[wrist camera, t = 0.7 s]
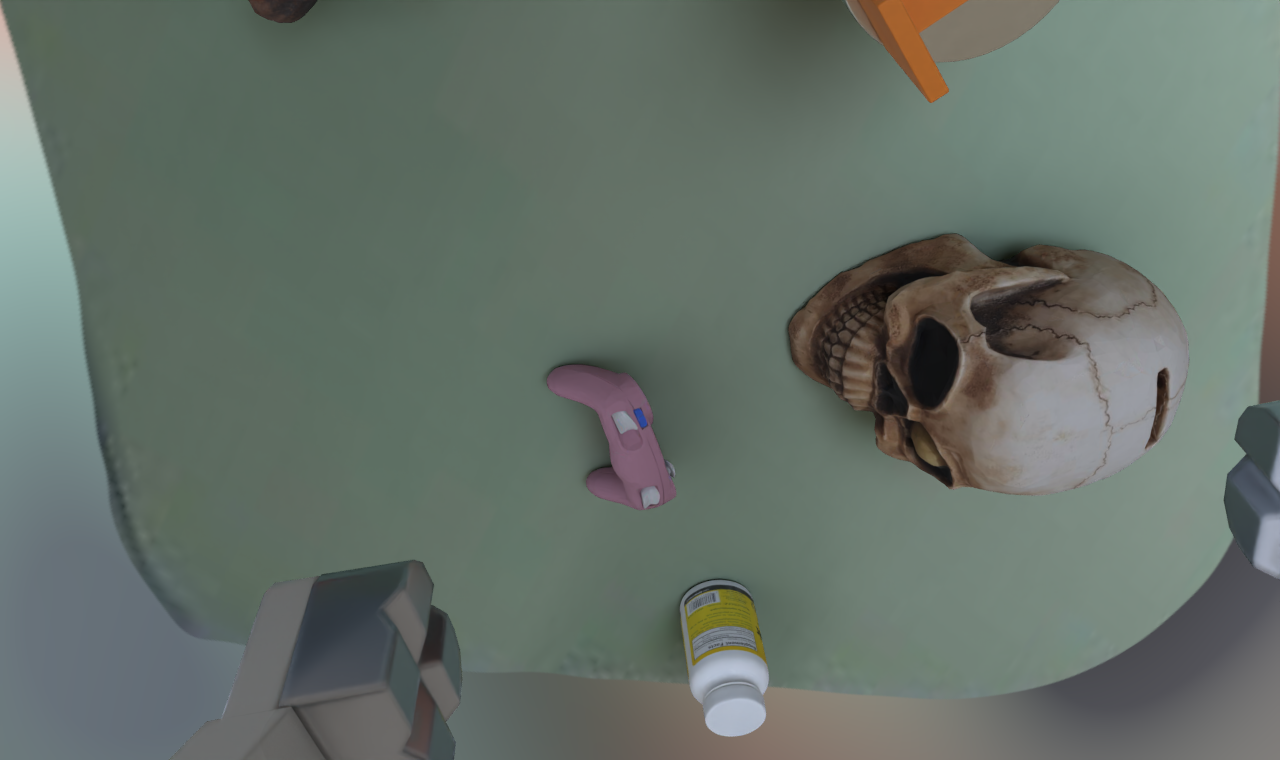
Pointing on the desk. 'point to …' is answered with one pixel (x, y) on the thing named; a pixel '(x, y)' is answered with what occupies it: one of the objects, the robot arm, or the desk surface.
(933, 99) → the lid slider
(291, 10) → the brown ring frame
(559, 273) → the desk surface
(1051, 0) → the blue lidded canister
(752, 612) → the supplement bottle
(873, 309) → the coin bank
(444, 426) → the desk surface
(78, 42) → the desk surface
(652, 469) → the video game controller
